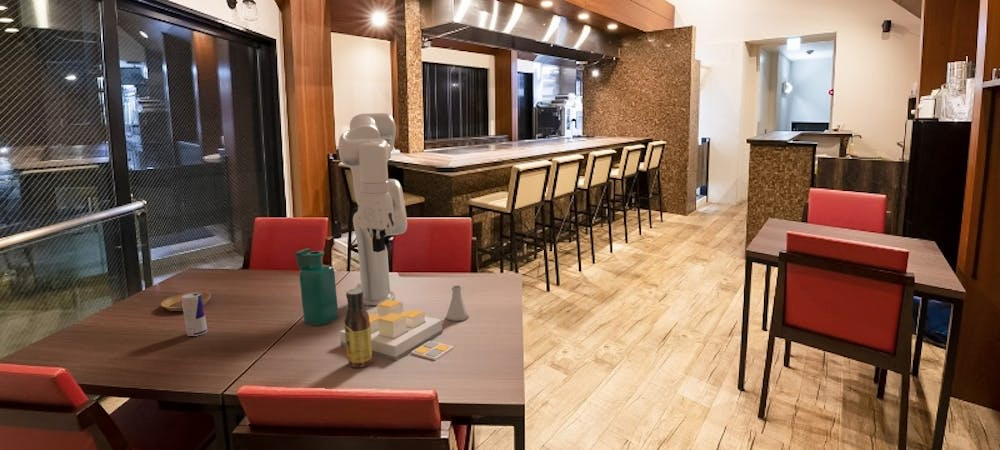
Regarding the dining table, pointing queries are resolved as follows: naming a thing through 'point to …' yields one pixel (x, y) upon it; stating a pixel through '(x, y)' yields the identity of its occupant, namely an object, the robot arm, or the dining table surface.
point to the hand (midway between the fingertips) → (379, 250)
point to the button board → (403, 339)
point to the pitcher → (317, 288)
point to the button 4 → (414, 318)
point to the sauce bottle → (357, 330)
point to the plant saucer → (178, 298)
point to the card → (432, 350)
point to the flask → (457, 306)
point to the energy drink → (194, 314)
